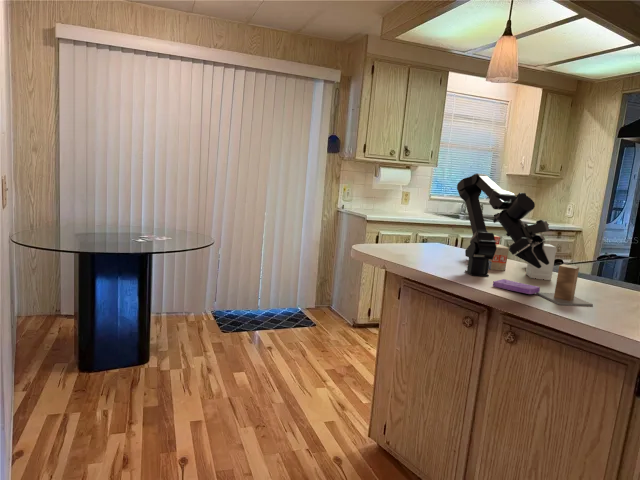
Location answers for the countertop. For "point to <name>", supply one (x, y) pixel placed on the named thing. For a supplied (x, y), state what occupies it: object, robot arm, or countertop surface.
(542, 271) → the supplement box
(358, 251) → the countertop surface
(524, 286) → the sponges
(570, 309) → the countertop surface
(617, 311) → the countertop surface
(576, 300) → the coaster
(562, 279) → the walnut block
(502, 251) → the tan cardboard box
